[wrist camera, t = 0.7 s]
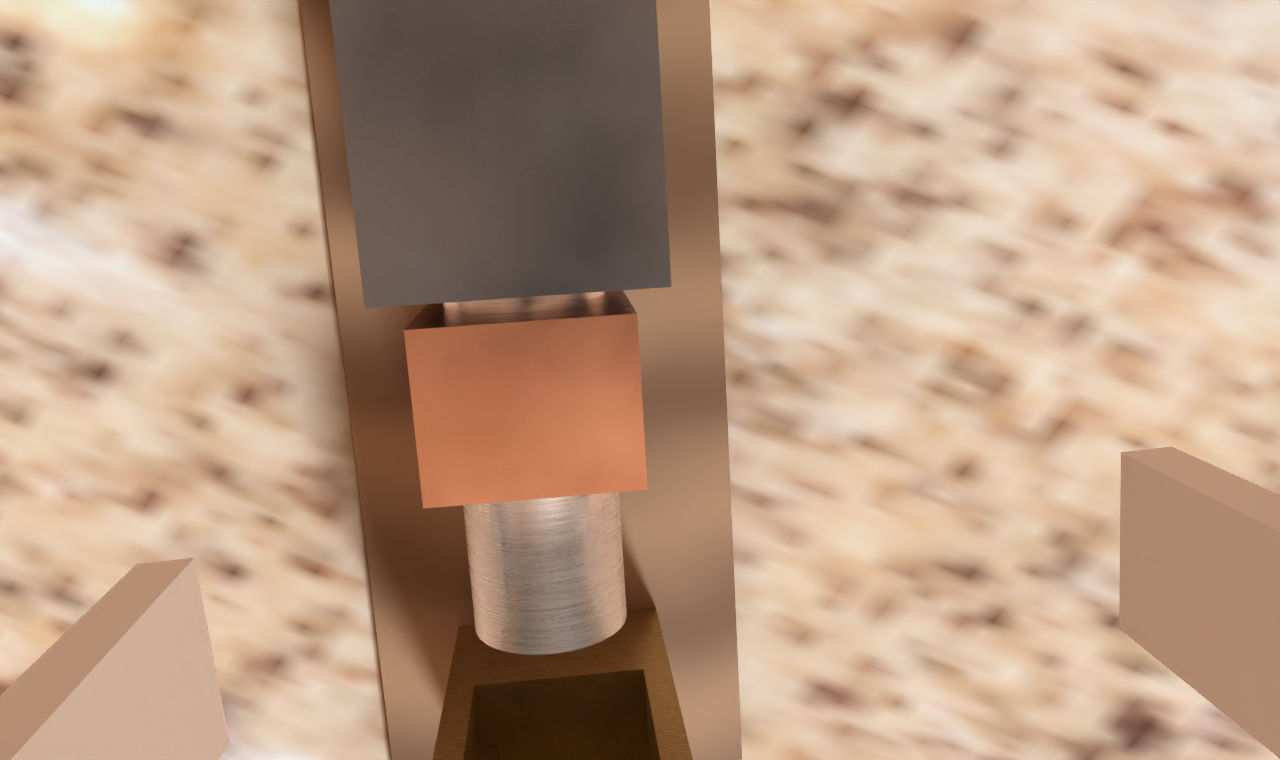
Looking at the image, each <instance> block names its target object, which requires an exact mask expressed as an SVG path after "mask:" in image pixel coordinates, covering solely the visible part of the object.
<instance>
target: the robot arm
mask: <svg viewBox="0 0 1280 760" xmlns="http://www.w3.org/2000/svg"><path fill="white" fill-rule="evenodd" d="M1119 629H1120V630H1122V631H1123V632H1124V633H1125V634H1127V635H1128V636H1129V637H1130V638H1132V639H1133V640H1134V641H1135V642H1137V643H1138V644H1139V645H1140V646H1142V647H1143V648H1144V649H1145V650H1146V651H1148V652H1149V653H1150V654H1151V655H1153V656H1154V657H1155V658H1156V659H1158V660H1159V661H1160V662H1161V663H1163V664H1164V665H1165V666H1166V667H1167V668H1169V669H1170V670H1171V671H1172V672H1174V673H1175V674H1176V675H1177V676H1179V677H1180V678H1181V679H1182V680H1184V681H1185V682H1186V683H1187V684H1189V685H1190V686H1191V687H1192V688H1193V689H1195V690H1196V691H1197V692H1198V693H1200V694H1201V695H1202V696H1203V697H1205V698H1206V699H1207V700H1208V701H1210V702H1211V703H1212V704H1213V705H1214V706H1216V707H1217V708H1218V709H1219V710H1221V711H1222V712H1223V713H1224V714H1226V715H1227V716H1228V717H1229V718H1231V719H1232V720H1233V721H1234V722H1236V723H1237V724H1238V725H1239V726H1240V727H1242V728H1243V729H1244V730H1245V731H1247V732H1248V733H1249V734H1250V735H1252V736H1253V737H1254V738H1255V739H1257V740H1258V741H1259V742H1260V743H1261V744H1263V745H1264V746H1265V747H1266V748H1268V749H1269V750H1270V751H1271V752H1273V753H1274V754H1275V755H1276V756H1278V757H1279V758H1280V495H1278V494H1276V493H1274V492H1272V491H1269V490H1267V489H1265V488H1263V487H1260V486H1258V485H1256V484H1254V483H1251V482H1249V481H1247V480H1245V479H1243V478H1240V477H1238V476H1236V475H1234V474H1231V473H1229V472H1227V471H1225V470H1223V469H1220V468H1218V467H1216V466H1214V465H1211V464H1209V463H1207V462H1205V461H1202V460H1200V459H1198V458H1196V457H1194V456H1191V455H1189V454H1187V453H1185V452H1182V451H1180V450H1178V449H1176V448H1173V447H1165V448H1156V449H1148V450H1139V451H1130V452H1121V509H1120V613H1119ZM228 741H229V737H228V732H227V726H226V721H225V716H224V711H223V706H222V700H221V695H220V690H219V685H218V679H217V674H216V669H215V664H214V658H213V653H212V648H211V643H210V638H209V632H208V627H207V622H206V617H205V611H204V606H203V601H202V596H201V590H200V585H199V580H198V575H197V569H196V564H195V559H194V558H188V559H179V560H170V561H162V562H153V563H144V564H136V565H135V566H134V567H133V568H132V569H131V570H130V571H129V572H128V573H127V574H126V575H125V576H124V577H123V578H122V579H121V580H120V581H119V582H118V583H117V584H116V585H115V586H114V587H113V588H112V589H110V590H109V591H108V592H107V593H106V594H105V595H104V596H103V597H102V598H101V599H100V600H99V601H98V602H97V603H96V604H95V605H94V606H93V607H92V608H91V609H90V610H89V611H88V612H87V613H86V614H85V615H83V616H82V617H81V618H80V619H79V620H78V621H77V622H76V623H75V624H74V625H73V626H72V627H71V628H70V629H69V630H68V631H67V632H66V633H65V634H64V635H63V636H62V637H61V638H60V639H59V640H58V641H56V642H55V643H54V644H53V645H52V646H51V647H50V648H49V649H48V650H47V651H46V652H45V653H44V654H43V655H42V656H41V657H40V658H39V659H38V660H37V661H36V662H35V663H34V664H33V665H32V666H30V667H29V668H28V669H27V670H26V671H25V672H24V673H23V674H22V675H21V676H20V677H19V678H18V679H17V680H16V681H15V682H14V683H13V684H12V685H11V686H10V687H9V688H8V689H7V690H6V691H5V692H3V693H2V694H1V695H0V760H218V759H219V757H220V756H221V754H222V752H223V750H224V748H225V747H226V745H227V743H228Z"/></svg>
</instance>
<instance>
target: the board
mask: <svg viewBox="0 0 1280 760" xmlns="http://www.w3.org/2000/svg"><path fill="white" fill-rule="evenodd" d="M656 6H657V25H658V44H659V63H660V81H661V100H662V119H663V137H664V156H665V175H666V194H667V212H668V231H669V250H670V269H671V287H663V288H649V289H635V290H623V291H624V293H625V294H626V296H627V298H628V299H629V301H630V302H631V304H632V306H633V307H634V309H635V311H636V312H637V320H638V336H639V353H640V369H641V386H642V402H643V419H644V435H645V452H646V468H647V484H648V490H639V491H627V492H619V505H620V520H621V535H622V550H623V565H624V580H625V595H626V610H635V609H646V608H656V610H657V614H658V618H659V622H660V626H661V630H662V634H663V639H664V643H665V647H666V651H667V655H668V659H669V663H670V667H671V672H672V676H673V680H674V684H675V688H676V692H677V696H678V700H679V705H680V709H681V713H682V717H683V721H684V725H685V729H686V733H687V738H688V742H689V746H690V750H691V754H692V758H693V760H742V749H741V726H740V702H739V679H738V656H737V633H736V610H735V587H734V564H733V540H732V517H731V494H730V471H729V448H728V425H727V402H726V379H725V355H724V332H723V309H722V286H721V263H720V240H719V217H718V194H717V170H716V147H715V124H714V101H713V78H712V55H711V32H710V9H709V0H656ZM300 8H301V17H302V25H303V33H304V41H305V49H306V58H307V66H308V74H309V82H310V91H311V99H312V107H313V115H314V123H315V132H316V140H317V148H318V156H319V165H320V173H321V181H322V189H323V197H324V206H325V214H326V222H327V230H328V239H329V247H330V255H331V263H332V272H333V280H334V288H335V296H336V304H337V313H338V321H339V329H340V337H341V346H342V354H343V362H344V370H345V378H346V387H347V395H348V403H349V411H350V420H351V428H352V436H353V444H354V452H355V461H356V469H357V477H358V485H359V494H360V502H361V510H362V518H363V526H364V535H365V543H366V551H367V559H368V568H369V576H370V584H371V592H372V601H373V609H374V617H375V625H376V633H377V642H378V650H379V658H380V666H381V675H382V683H383V691H384V699H385V707H386V716H387V724H388V732H389V740H390V749H391V757H392V760H432V759H433V754H434V749H435V744H436V739H437V734H438V729H439V724H440V718H441V713H442V708H443V703H444V698H445V693H446V688H447V683H448V678H449V673H450V668H451V663H452V658H453V652H454V647H455V642H456V637H457V632H458V627H459V626H462V625H473V624H475V619H474V609H473V599H472V589H471V579H470V569H469V559H468V549H467V539H466V529H465V519H464V509H463V505H460V506H448V507H436V508H424V509H423V503H422V493H421V484H420V475H419V466H418V457H417V447H416V438H415V429H414V420H413V411H412V401H411V392H410V383H409V374H408V364H407V355H406V346H405V337H404V329H405V328H406V327H407V326H408V325H409V324H410V323H411V322H412V320H413V319H414V318H415V317H416V316H417V315H418V314H419V313H420V311H421V310H422V309H423V308H424V307H425V306H426V305H427V304H420V305H406V306H391V307H377V308H365V307H364V298H363V290H362V281H361V272H360V264H359V255H358V246H357V238H356V229H355V221H354V212H353V203H352V195H351V186H350V177H349V169H348V160H347V152H346V143H345V134H344V126H343V117H342V108H341V100H340V91H339V83H338V74H337V65H336V57H335V48H334V39H333V31H332V22H331V14H330V5H329V0H300Z"/></svg>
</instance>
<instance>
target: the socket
mask: <svg viewBox="0 0 1280 760" xmlns="http://www.w3.org/2000/svg"><path fill="white" fill-rule="evenodd" d="M432 760H693V758H692V754H691V750H690V746H689V742H688V738H687V733H686V729H685V725H684V721H683V717H682V713H681V709H680V705H679V700H678V696H677V692H676V688H675V684H674V680H673V676H672V672H671V667H670V663H669V659H668V655H667V651H666V647H665V643H664V639H663V634H662V630H661V626H660V622H659V618H658V614H657V610H656V608H646V609H635V610H627V617H626V621H625V623H624V624H623V626H622V627H621V628H620V629H619V630H618V631H617V632H616V633H615V634H613V635H612V636H610V637H608V638H607V639H605V640H603V641H601V642H599V643H596V644H594V645H591V646H588V647H585V648H582V649H578V650H574V651H569V652H563V653H556V654H544V655H527V654H516V653H510V652H505V651H501V650H498V649H495V648H493V647H491V646H489V645H487V644H485V643H484V642H483V641H482V640H481V639H480V638H479V637H478V635H477V633H476V629H475V624H473V625H462V626H459V627H458V632H457V637H456V642H455V647H454V652H453V658H452V663H451V668H450V673H449V678H448V683H447V688H446V693H445V698H444V703H443V708H442V713H441V718H440V724H439V729H438V734H437V739H436V744H435V749H434V754H433V759H432Z"/></svg>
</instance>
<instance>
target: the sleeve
mask: <svg viewBox="0 0 1280 760" xmlns="http://www.w3.org/2000/svg"><path fill="white" fill-rule="evenodd" d="M329 5H330V14H331V22H332V31H333V39H334V48H335V57H336V65H337V74H338V83H339V91H340V100H341V108H342V117H343V126H344V134H345V143H346V152H347V160H348V169H349V177H350V186H351V195H352V203H353V212H354V221H355V229H356V238H357V246H358V255H359V264H360V272H361V281H362V290H363V298H364V307H365V308H377V307H391V306H406V305H420V304H434V303H449V302H463V301H477V300H492V299H506V298H520V297H535V296H549V295H563V294H578V293H592V292H606V291H620V290H635V289H649V288H663V287H671V269H670V250H669V231H668V212H667V194H666V175H665V156H664V137H663V119H662V100H661V81H660V63H659V44H658V25H657V6H656V0H329Z"/></svg>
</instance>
